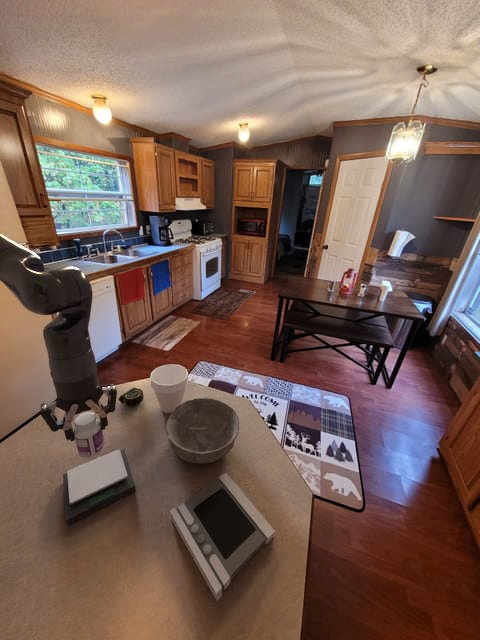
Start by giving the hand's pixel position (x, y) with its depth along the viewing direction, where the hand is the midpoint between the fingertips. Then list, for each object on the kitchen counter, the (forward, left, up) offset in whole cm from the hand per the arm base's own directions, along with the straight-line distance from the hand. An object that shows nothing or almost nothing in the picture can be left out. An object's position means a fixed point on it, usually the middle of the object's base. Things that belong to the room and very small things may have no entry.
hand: (88, 432), depth 57 cm
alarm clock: (+21, -25, -17) cm, 37 cm away
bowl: (+27, -4, -17) cm, 32 cm away
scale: (0, -1, -17) cm, 17 cm away
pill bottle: (0, 0, -6) cm, 6 cm away
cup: (+25, +17, -17) cm, 35 cm away
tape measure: (+14, +26, -17) cm, 34 cm away
